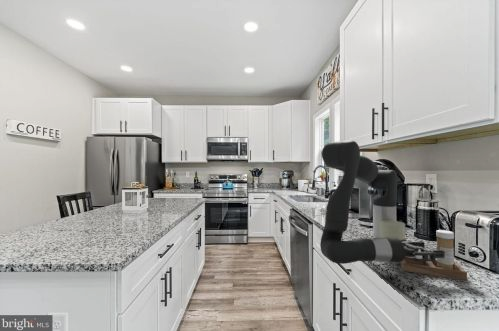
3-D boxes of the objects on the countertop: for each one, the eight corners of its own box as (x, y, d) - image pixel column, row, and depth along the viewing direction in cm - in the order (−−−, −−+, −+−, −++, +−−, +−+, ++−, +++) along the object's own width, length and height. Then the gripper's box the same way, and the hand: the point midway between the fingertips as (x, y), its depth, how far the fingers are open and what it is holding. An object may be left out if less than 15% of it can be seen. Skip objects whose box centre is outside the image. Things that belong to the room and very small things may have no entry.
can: (392, 246, 107) (392, 218, 107) (411, 253, 98) (411, 223, 98) (374, 247, 105) (374, 219, 105) (391, 255, 96) (391, 224, 96)
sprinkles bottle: (437, 268, 83) (437, 228, 83) (454, 272, 80) (454, 231, 80) (435, 272, 80) (435, 231, 80) (453, 276, 77) (453, 233, 77)
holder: (399, 262, 89) (399, 255, 89) (456, 269, 82) (456, 262, 82) (403, 270, 81) (403, 263, 81) (467, 280, 74) (466, 272, 74)
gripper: (397, 244, 73) (451, 244, 73) (372, 232, 87) (417, 232, 87) (397, 270, 73) (451, 270, 73) (372, 253, 87) (417, 253, 87)
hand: (433, 249), depth 80 cm, fingers open, 8 cm apart
